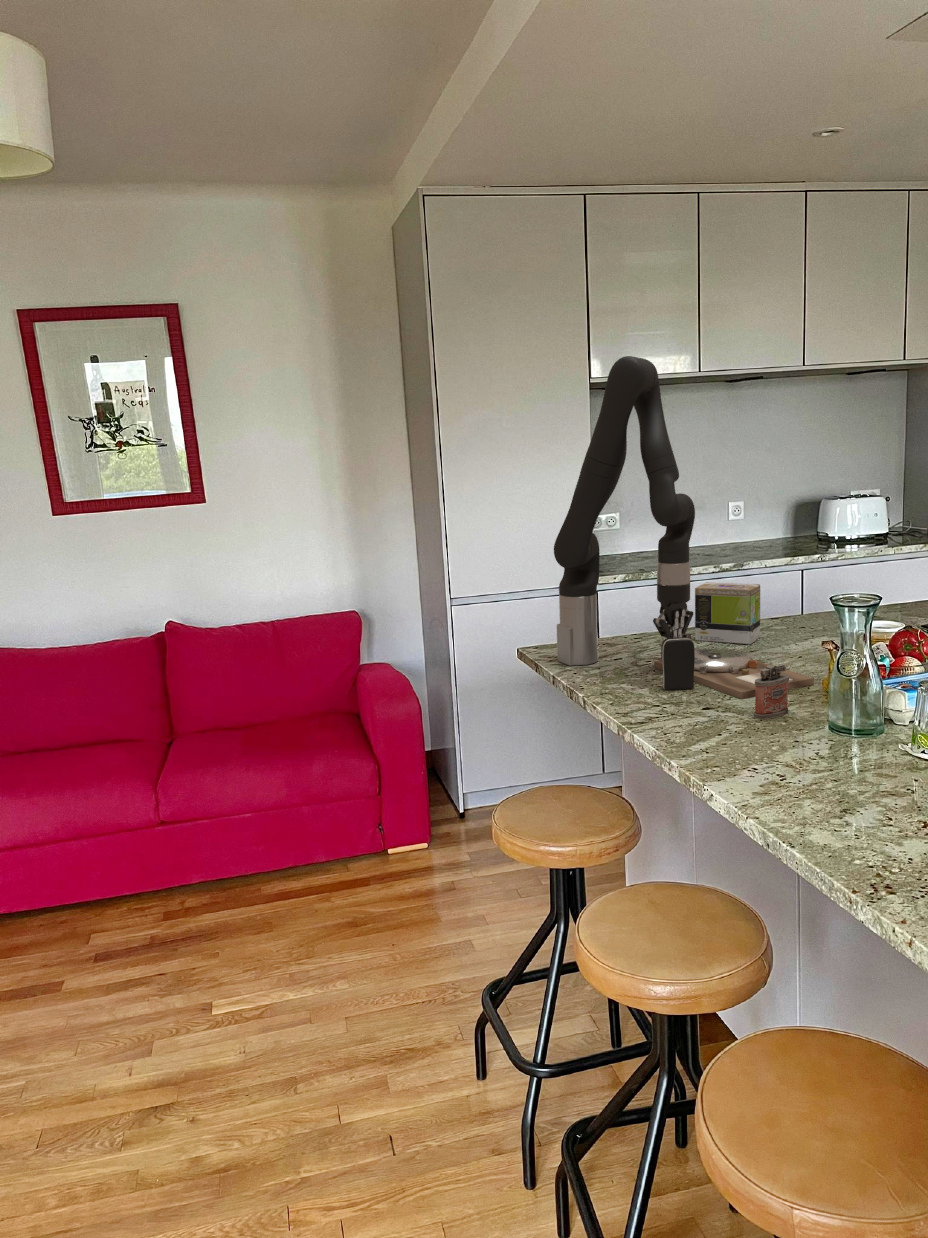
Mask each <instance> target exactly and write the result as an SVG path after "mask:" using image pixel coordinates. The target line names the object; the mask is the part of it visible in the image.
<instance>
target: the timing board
mask: <svg viewBox="0 0 928 1238" xmlns="http://www.w3.org/2000/svg"><path fill="white" fill-rule="evenodd" d="M653 664H654V666H653V667H654V669H655V668H656V669H658V670H660V671H663V665H662V660H661V659H658V660H655V661H653ZM768 665H769V666H773V667H774V666H775V665H772V664H768V663H765V662H761V661H759V660H757V667H756V668H751V667H748V668H746V669H743V670H739V673H734V674H733V673H731V672H707V673H706V674H703V673H700V671H696V670H694V683H696V684H699V685H702V686H704V687H707V688H709V689H713V690H716V691H718V692H721V693H724V694H727V695H729V696H732V697H734V698H738V699H741V700H744V699H745V700H746V699H749V698H754V697H755V695H756V685H755V680H756V679H759V678H761V675H760V670H761V669H765V668H766V666H768ZM780 673H781V674H782V675H788V676H789V681H788V691H789V690H793V689H798V688H804V687H808V686H809V687H810V686H814V684H815V683H814V682H815V681H814V680H815V678H814V677H811V676H808V675H806V674H805V675H804V674H801V673H798V672H795V671H791V670H789V669H786V671H783V672H780Z"/></svg>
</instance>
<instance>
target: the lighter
mask: <svg viewBox="0 0 928 1238" xmlns="http://www.w3.org/2000/svg"><path fill="white" fill-rule="evenodd" d="M769 665H770V664H769ZM769 665H768V666H766V668H765V669H761V670H760V675H761V678H759V679H756V680H755V685H756V695H755V698H754V699H755V700H754V701H755V703H754V704H755V705H754V706H755V707H754V713H753V717H754V718H755V719H758V720H768V719H773V718H778V717H782V716H785V715H788V714H789V707H788V701H789V699H788V697H789V690H788V681H789V676H788V675H782V674H781V673H780V672H783V671H786V670H787V666H786V664H784V663H780V664H776V665H772V666H769ZM773 666H774V667H773Z"/></svg>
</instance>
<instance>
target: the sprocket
mask: <svg viewBox="0 0 928 1238" xmlns="http://www.w3.org/2000/svg"><path fill="white" fill-rule="evenodd" d="M681 637H686V638H689V639H691V640H692V633H689V632H686V633H685V634H682V635H681ZM694 648H695V662H694V670H696V671H700V673H703V674H706V673H707V672H731V673H733V674H734V673H739V670H743V669H746V668H748V667H751V668H756V667H757V661H758V660H757V659H753V658H754V655H753V653H752V652H742V651H741V652H740V651H737V650H730V649H729V647H722V648H705V649H704V648H698V647H694Z"/></svg>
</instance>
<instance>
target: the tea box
mask: <svg viewBox="0 0 928 1238" xmlns="http://www.w3.org/2000/svg"><path fill="white" fill-rule="evenodd" d="M694 618H695V619H694V629H695V630H694V636H695V637H694V640H695V641H701V642H702V641H703V642H716V643H731V644H741V645H742V644H745V645H751V644H753V643H754V642H756V639H757V640H758V639H760V635H761V583H760V584H759V583H738V582H737V583H734V582H707V581H706V582H705V583H702V584H701V585H698V586H696V587H695V588H694Z"/></svg>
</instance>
